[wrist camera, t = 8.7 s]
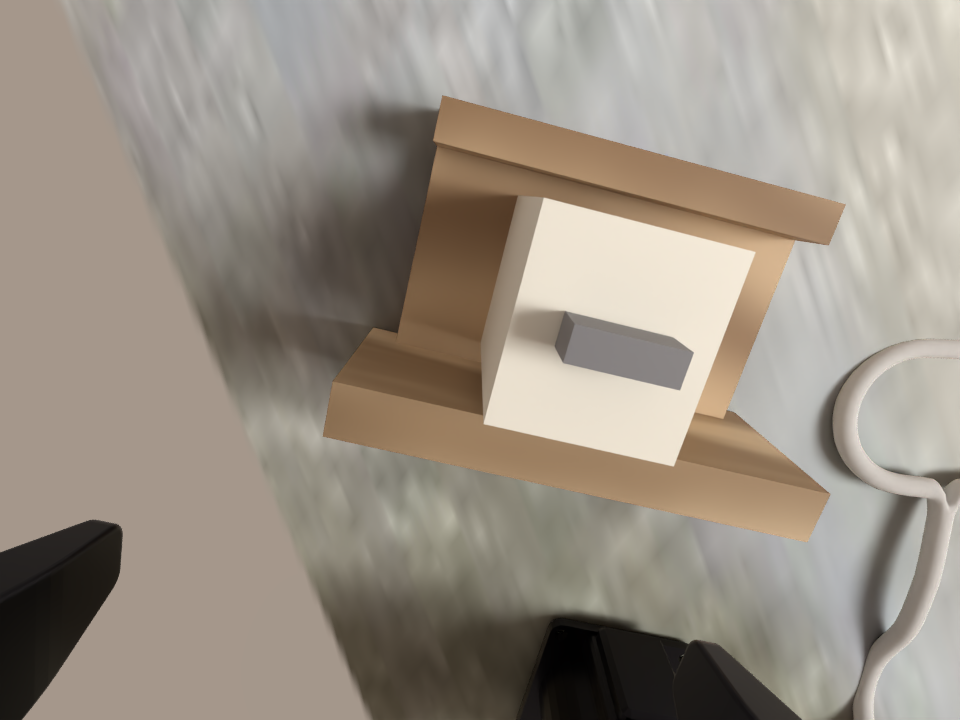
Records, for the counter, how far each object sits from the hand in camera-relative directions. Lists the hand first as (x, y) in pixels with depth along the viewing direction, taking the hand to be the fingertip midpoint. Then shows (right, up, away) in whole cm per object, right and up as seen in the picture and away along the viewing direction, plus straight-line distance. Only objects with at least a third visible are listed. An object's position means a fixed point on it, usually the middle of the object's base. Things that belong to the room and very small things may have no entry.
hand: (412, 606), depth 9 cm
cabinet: (+4, +6, +10) cm, 12 cm away
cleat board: (+5, +6, +11) cm, 14 cm away
